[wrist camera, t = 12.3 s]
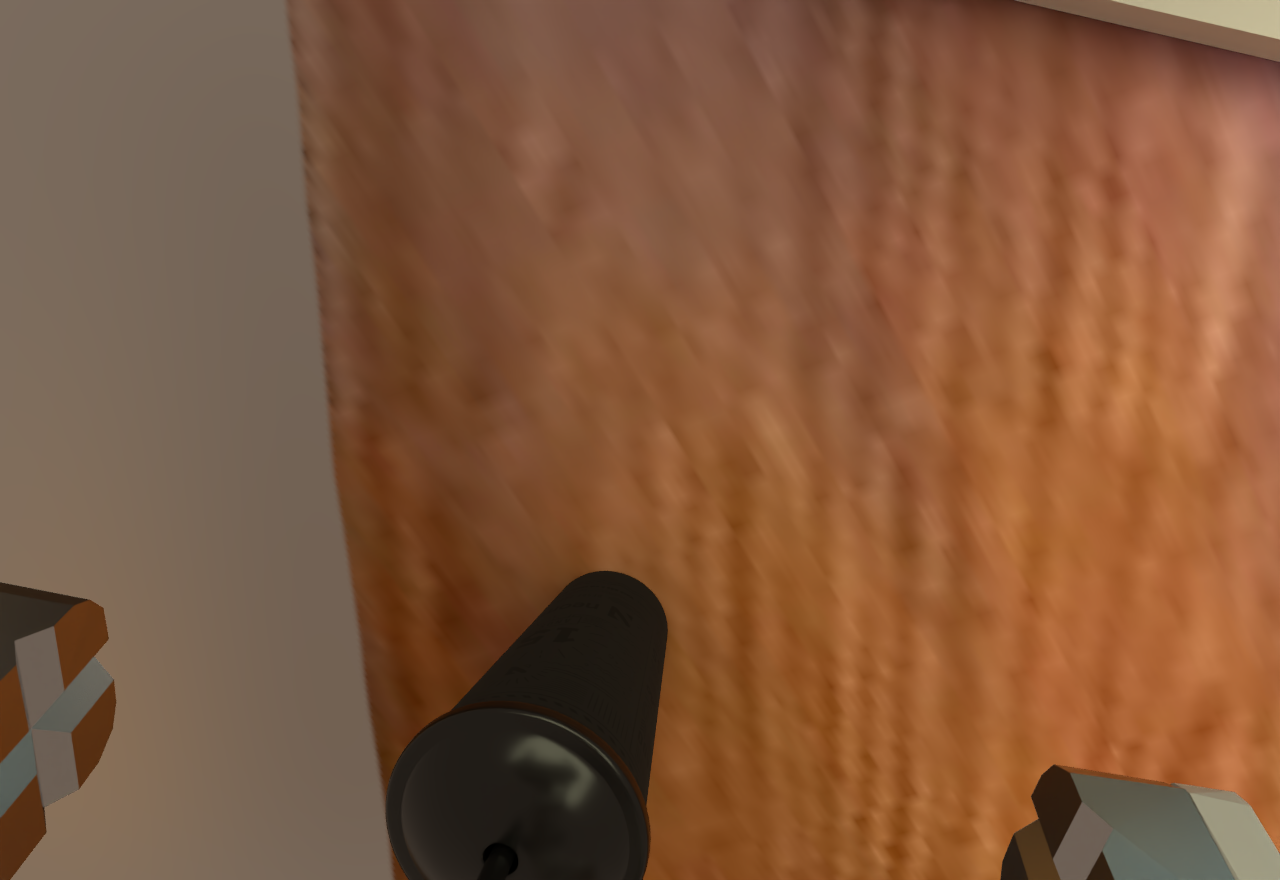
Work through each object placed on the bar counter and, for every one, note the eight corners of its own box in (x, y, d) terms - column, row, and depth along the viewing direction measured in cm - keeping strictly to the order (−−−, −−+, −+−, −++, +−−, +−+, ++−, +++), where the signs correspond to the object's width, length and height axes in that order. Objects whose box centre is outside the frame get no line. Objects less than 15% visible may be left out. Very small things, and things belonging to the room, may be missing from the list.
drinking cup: (734, 673, 40) (659, 1114, 21) (571, 733, 42) (369, 1184, 23) (652, 508, 39) (495, 817, 20) (489, 577, 41) (204, 918, 22)
